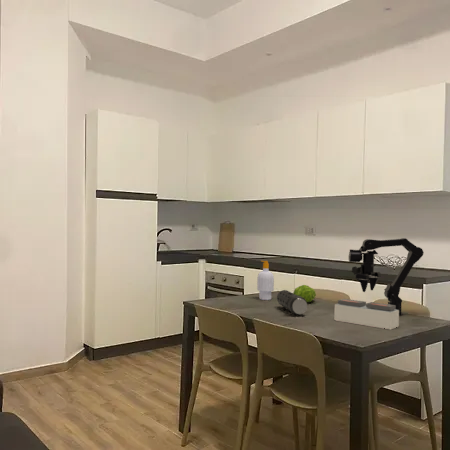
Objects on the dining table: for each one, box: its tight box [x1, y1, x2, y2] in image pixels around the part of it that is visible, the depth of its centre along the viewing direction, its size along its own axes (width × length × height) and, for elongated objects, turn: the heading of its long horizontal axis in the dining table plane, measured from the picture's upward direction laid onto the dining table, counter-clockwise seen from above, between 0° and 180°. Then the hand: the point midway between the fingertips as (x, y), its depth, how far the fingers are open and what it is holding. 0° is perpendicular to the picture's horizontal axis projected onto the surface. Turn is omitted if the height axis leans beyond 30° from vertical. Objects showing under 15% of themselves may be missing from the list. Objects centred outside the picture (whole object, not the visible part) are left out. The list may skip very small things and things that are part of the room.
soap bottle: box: [256, 260, 275, 301], centre depth 301 cm, size 10×10×24 cm
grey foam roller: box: [276, 289, 308, 316], centre depth 260 cm, size 10×28×10 cm, turn 10°
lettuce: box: [292, 284, 317, 303], centre depth 297 cm, size 12×24×13 cm
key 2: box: [366, 301, 396, 311], centre depth 227 cm, size 6×12×2 cm, turn 47°
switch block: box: [333, 303, 400, 331], centre depth 232 cm, size 9×29×8 cm, turn 47°
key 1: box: [337, 298, 367, 307], centre depth 237 cm, size 6×12×2 cm, turn 48°
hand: (367, 291), depth 259 cm, fingers open, 9 cm apart
